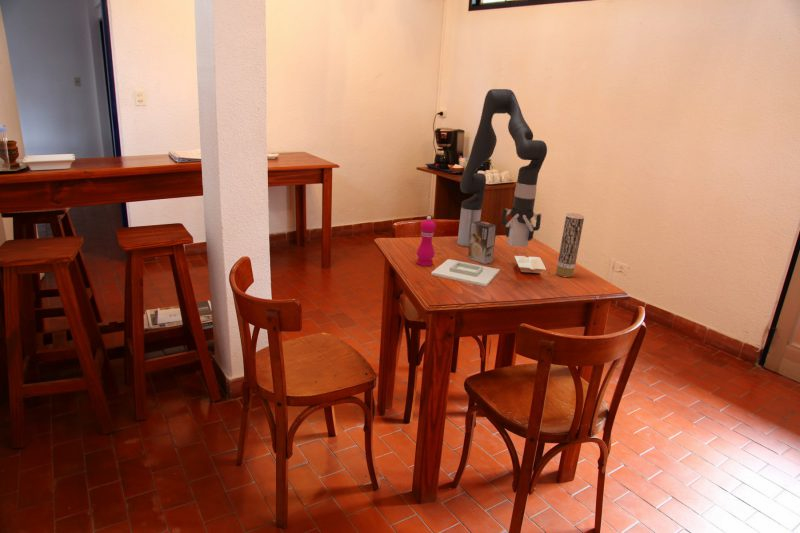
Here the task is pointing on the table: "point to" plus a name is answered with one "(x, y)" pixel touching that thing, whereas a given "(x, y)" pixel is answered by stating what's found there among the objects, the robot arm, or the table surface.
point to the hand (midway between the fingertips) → (518, 238)
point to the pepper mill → (426, 243)
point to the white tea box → (518, 234)
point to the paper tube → (570, 244)
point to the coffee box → (482, 242)
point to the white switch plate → (466, 272)
